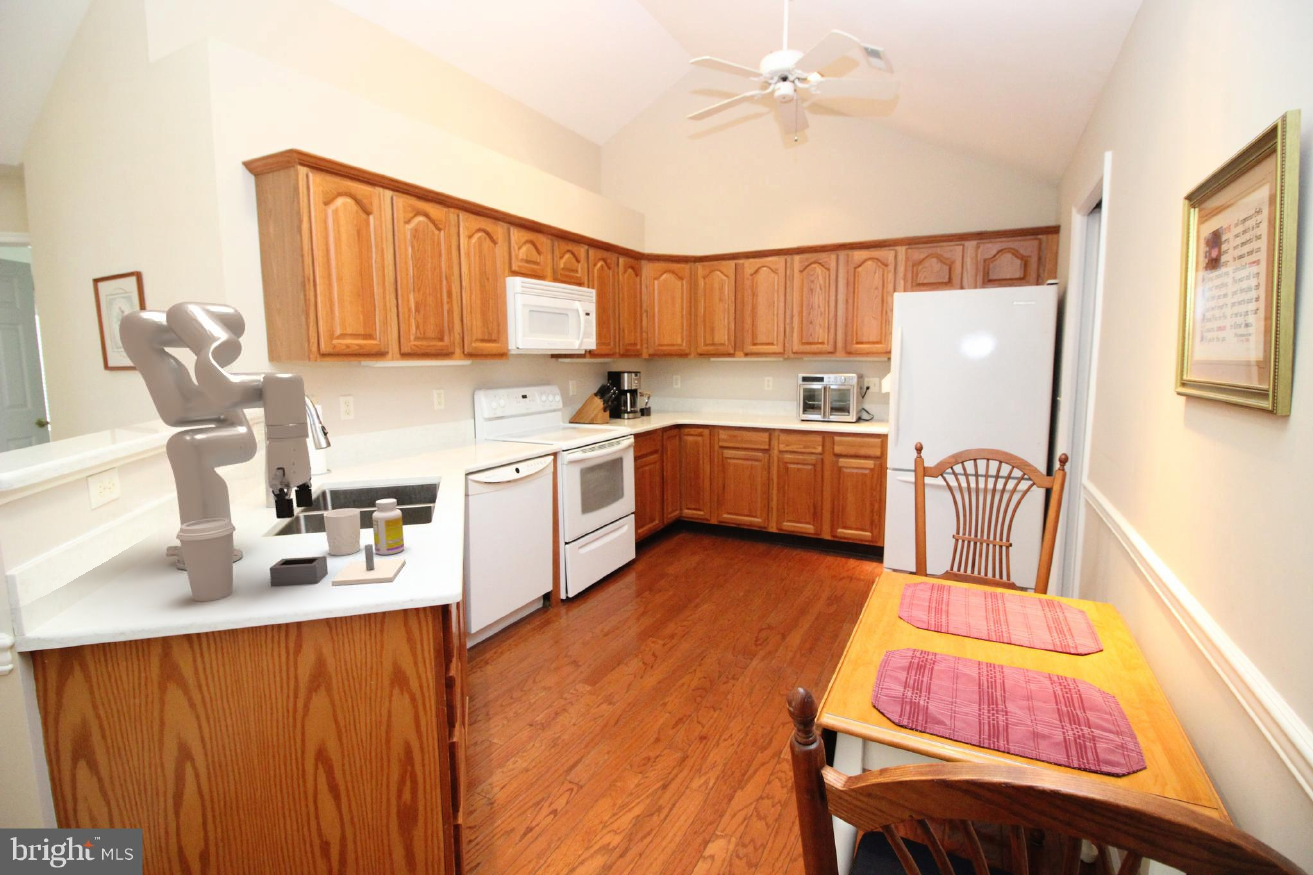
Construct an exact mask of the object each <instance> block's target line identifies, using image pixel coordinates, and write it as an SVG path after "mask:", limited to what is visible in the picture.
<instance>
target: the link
mask: <svg viewBox="0 0 1313 875" xmlns="http://www.w3.org/2000/svg"><path fill="white" fill-rule="evenodd" d="M327 557H328V556H327V555H324V556H323V555H322V556H321V555H320V556H308V557H307V556H306V557H290V558H281V559H279V561H277V562H275V563H274V564H273V565H271V566H270V567H269V574H270V575H269V576H270V586H271V587H280V586H281V587H282V586H297V585H299V586H300V585H313V584H319V583H320V582H321V581H322V580H323V579H324V578H325V577H326V576H327V575H328V574H329V570H328V561H327V560H328V559H327Z"/></svg>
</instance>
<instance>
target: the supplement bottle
mask: <svg viewBox="0 0 1313 875" xmlns="http://www.w3.org/2000/svg"><path fill="white" fill-rule="evenodd" d="M397 503H398V502H397V499H395V498H383V499H379V500H378V499H377V500H376V501H375V507H376V511H374V512H373V513H372V516H371V518H372V528H373V541H374V542H373V545H374V551H375V553H376V554H377V555H383V556H384V555H386V556H387V555H394V554H398V553H401V552H402V551H404V549H405V541H404V540H405V539H404V526H403V514H402V510H400V509H398V508H397Z"/></svg>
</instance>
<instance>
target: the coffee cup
mask: <svg viewBox="0 0 1313 875" xmlns="http://www.w3.org/2000/svg"><path fill="white" fill-rule="evenodd" d="M231 522H232V521H231ZM231 522H230V520H229V519H227V518H211V519H203V520H197V521H192V522H189V523H186V524H183V525H181V524H180V526H179V527H180V528H179V531H177V533H176V536H175V538H176V540H178V541H179V544H180V546H181V548H182V552H183V556H184V560H185V565H186V569H187V570H186V572H187V577H188V582H189V587H190V590H191V595H192V599H193V601H195V602H210V601H215V600H220V599H223V598H225V597H228V596H230V595H232V594H233V592H234V591H233V590H234V562H233V541H234V532H235V531H236V530H237V528H236V526H235V525H234V523H231Z"/></svg>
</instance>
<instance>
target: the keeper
mask: <svg viewBox="0 0 1313 875" xmlns="http://www.w3.org/2000/svg"><path fill="white" fill-rule="evenodd" d="M373 545H374V544H371V543H369V544H365V545H364V555H365V556H364V557H365V561H352V562H351V561H350V562H349V563H348V564H346V566H345V567H344V568H343V569H342V570H341V571H340V572H339V573H338V574H337V575H336V576H335V577H334V578H333V579H332V580H331V586H346V585H363V584H374V583H375V584H377V583H379V584H381V583H391V582H392V583H393V581H394V580H395V579H396V577H397V576H398V574H399V573H400V572H401V570H402V569H403V568H402V567H404V566H405V565H406V561H407V560H406V558H400V559H399V558H398V559H383V560H382V559H381V560H375V559H374V546H373ZM404 564H405V565H404ZM403 565H404V566H403ZM399 571H400V572H399ZM398 572H399V573H398Z"/></svg>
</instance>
